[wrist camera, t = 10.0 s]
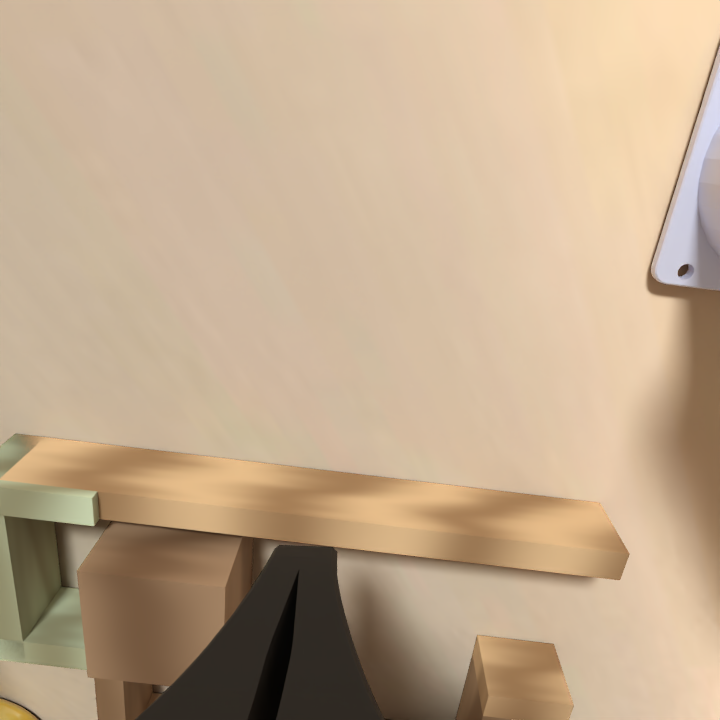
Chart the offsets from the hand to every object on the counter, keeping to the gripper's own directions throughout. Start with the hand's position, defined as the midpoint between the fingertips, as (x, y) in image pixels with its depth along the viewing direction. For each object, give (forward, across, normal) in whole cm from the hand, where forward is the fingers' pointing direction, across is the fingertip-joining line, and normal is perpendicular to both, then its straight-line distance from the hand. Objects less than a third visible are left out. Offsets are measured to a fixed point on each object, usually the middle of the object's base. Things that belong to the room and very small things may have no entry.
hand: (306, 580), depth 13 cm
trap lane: (+9, +2, +11) cm, 14 cm away
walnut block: (+10, +6, +7) cm, 13 cm away
